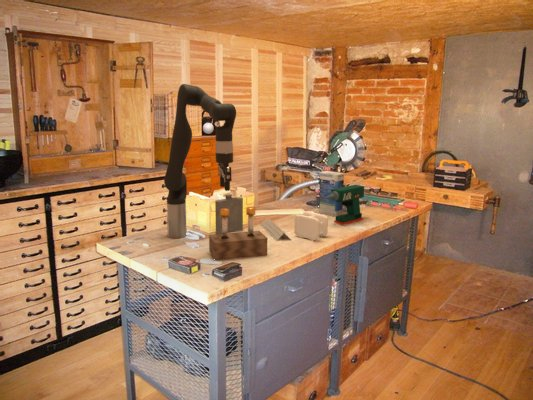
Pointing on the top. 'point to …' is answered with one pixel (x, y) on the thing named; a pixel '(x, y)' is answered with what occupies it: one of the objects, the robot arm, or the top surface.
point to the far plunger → (250, 219)
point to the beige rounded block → (311, 225)
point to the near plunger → (224, 222)
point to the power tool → (348, 202)
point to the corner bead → (273, 229)
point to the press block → (237, 245)
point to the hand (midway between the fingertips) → (224, 188)
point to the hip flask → (230, 213)
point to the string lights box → (326, 184)
